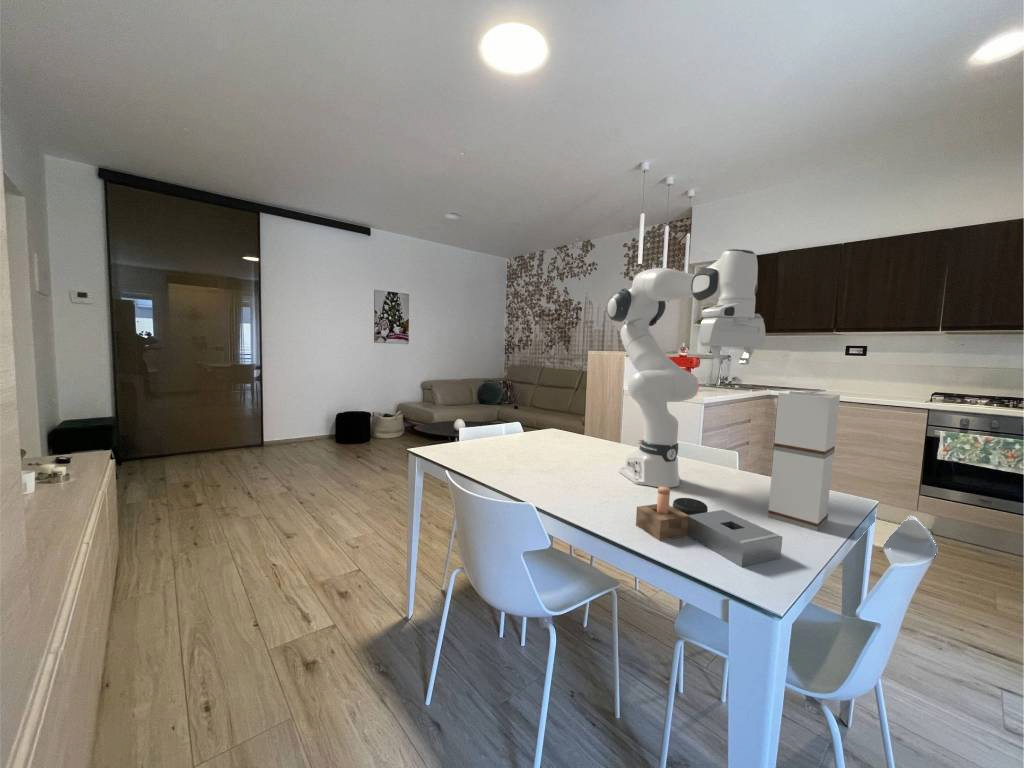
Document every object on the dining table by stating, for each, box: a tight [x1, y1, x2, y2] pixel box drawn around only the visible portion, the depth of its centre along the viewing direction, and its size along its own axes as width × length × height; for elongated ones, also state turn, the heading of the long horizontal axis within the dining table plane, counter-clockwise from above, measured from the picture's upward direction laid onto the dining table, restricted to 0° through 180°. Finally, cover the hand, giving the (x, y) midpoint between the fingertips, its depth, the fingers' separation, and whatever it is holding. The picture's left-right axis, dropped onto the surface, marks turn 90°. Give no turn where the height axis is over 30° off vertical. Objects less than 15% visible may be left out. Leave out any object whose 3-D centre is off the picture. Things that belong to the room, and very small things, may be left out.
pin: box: [656, 487, 671, 515], centre depth 105 cm, size 3×3×11 cm
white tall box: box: [767, 390, 841, 532], centre depth 114 cm, size 11×11×35 cm
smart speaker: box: [672, 497, 709, 515], centre depth 115 cm, size 9×9×4 cm
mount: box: [635, 503, 688, 541], centre depth 106 cm, size 9×9×5 cm
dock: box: [686, 509, 783, 568], centre depth 98 cm, size 16×12×5 cm
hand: (731, 364), depth 110 cm, fingers open, 8 cm apart
